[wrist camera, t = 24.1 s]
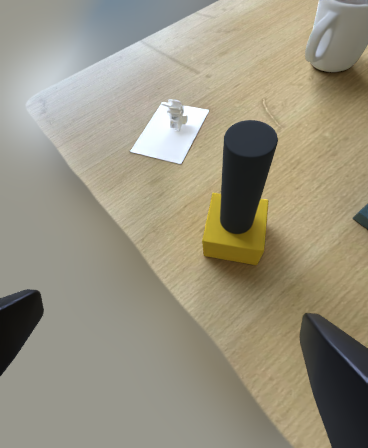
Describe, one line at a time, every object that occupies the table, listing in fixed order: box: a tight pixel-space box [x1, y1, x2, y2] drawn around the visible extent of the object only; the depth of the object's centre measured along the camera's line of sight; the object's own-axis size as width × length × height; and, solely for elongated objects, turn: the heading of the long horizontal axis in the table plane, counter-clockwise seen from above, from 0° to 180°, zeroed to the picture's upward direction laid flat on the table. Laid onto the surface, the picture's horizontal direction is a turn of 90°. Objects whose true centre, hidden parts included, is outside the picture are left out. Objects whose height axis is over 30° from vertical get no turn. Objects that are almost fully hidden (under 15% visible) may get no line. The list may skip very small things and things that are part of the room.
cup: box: [305, 0, 368, 72], centre depth 31 cm, size 11×8×8 cm
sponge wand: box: [202, 120, 278, 265], centre depth 18 cm, size 5×5×12 cm
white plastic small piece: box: [162, 99, 189, 132], centre depth 31 cm, size 3×3×3 cm
